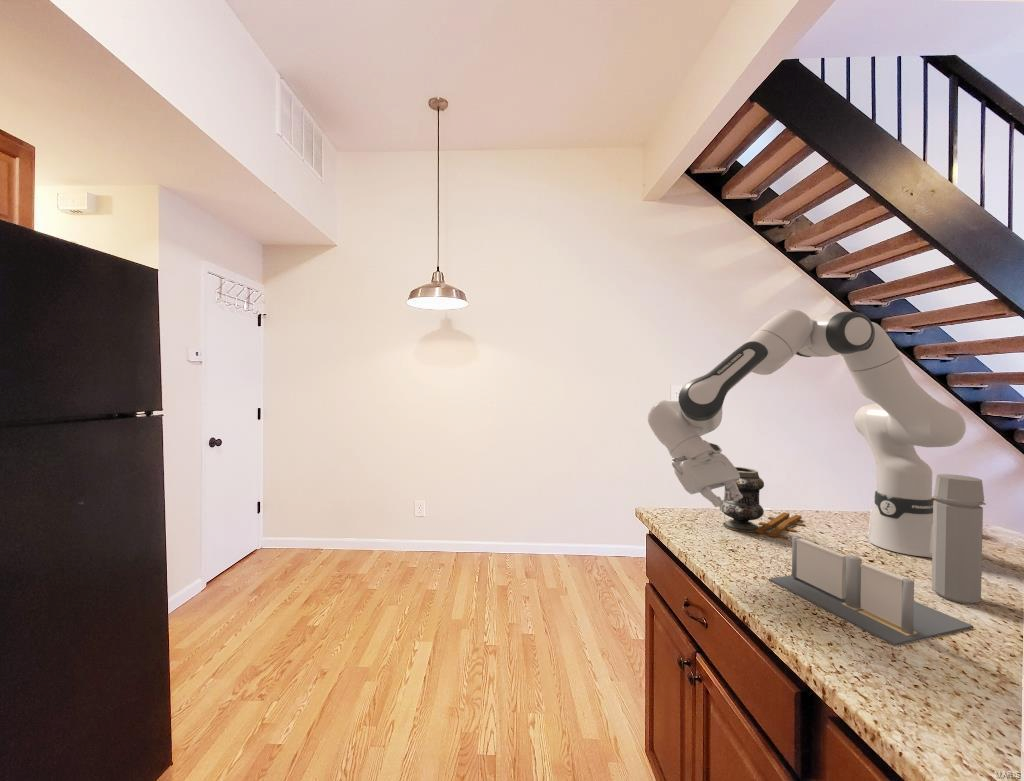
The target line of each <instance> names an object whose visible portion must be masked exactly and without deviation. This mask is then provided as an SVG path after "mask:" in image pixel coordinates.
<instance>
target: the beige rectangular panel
mask: <svg viewBox="0 0 1024 781" xmlns="http://www.w3.org/2000/svg"><path fill="white" fill-rule="evenodd" d="M791 540H792V541H791V545H792V546H791V549H792V550H791V575H792V577H794V578H799V579H801V580H803V581H805V582H807V583H809V584H811V585H813V586H816V587H818V588H820V589H822V590H824V591H826V592H828V593H830V594H832V595H834V596H836V597H839V598H841V599H845V598H846V556H848V554H847V555H846V554H844V553H841V552H838V551H837V550H833V549H831V548H828V547H825V546H822V545H819V544H817V543H814V542H812V541H810V540H807V539H804V538H801V537H799V536H792V538H791Z"/></svg>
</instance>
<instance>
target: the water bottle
mask: <svg viewBox="0 0 1024 781" xmlns="http://www.w3.org/2000/svg"><path fill="white" fill-rule="evenodd" d="M983 485H984V484H983V479H981V478H978V477H974V476H968V475H959V474H953V473H952V474H950V473H949V474H947V473H939V474H936V478H935V484H934V489H933V490H934V491H933V495H932V496H931V498H935V499H937V500H934V501H933V547H932V558H931V559H932V560H931V589H932V590H933V592H934V593H935V594H936V595H938V596H940V597H941V598H944V599H946V600H950V601H952V602H956V603H961V604H966V605H968V604H969V605H970V604H971V605H972V604H974V605H975V604H977V603H979V602H980V601H981V600H982V575H983V574H982V572H983V571H982V569H983V568H982V566H983V529H984V528H983V523H984V517H983V515H984V514H983V513H984V507H982V505H983V506H987V505H986V504H987V503H985V494H984V487H983Z"/></svg>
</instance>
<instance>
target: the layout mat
mask: <svg viewBox="0 0 1024 781" xmlns="http://www.w3.org/2000/svg"><path fill="white" fill-rule="evenodd" d="M768 581H769V582H770V583H773V584H774V585H777V586H778V587H781V588H783V589H784V588H785V589H784V590H786V589H787V591H788V592H790V593H792V594H794V595H796V596H798V597H800V598H802V599H803V600H806V601H807V602H809V603H811V604H813V605H815V606H817V607H819V608H820V609H823V610H825V611H827V612H829V614H832V615H834V616H836V617H838V618H840V619H842V620H843V621H845V622H847V623H849V624H852V625H853V626H855V627H857V628H858V629H861V630H862V631H865V632H867V633H869V634H870V635H873V636H874V637H876V638H878V639H880V640H882V641H884V642H886V643H888V644H889V645H892V646H893V647H895V646H899V645H905V644H908V643H909V644H910V643H912V642H917V641H921V640H926V639H930V638H934V637H938V636H944V635H948V634H952V633H956V632H961V631H965V630H970V629H973V628H974V625H972V624H970V623H968V622H966V621H964V620H961V619H958V618H956V617H954V616H952V615H948V614H946V613H944V612H941V611H940V610H937V609H934V608H932V607H929V606H927V605H925V604H923V603H920V602H918V601H915V600H914V625H913V634H907V633H904V632H903V631H901V627H899V626H897V625H895V624H893V623H891V622H889V621H886V620H884V619H882V618H880V617H878V616H876V615H874V614H872V613H870V612H868V611H866V610H864V609H861V608H860V609H855V608H851V607H849V606H847V605H846V604H845V603H846V598H845V599H841V598H839V597H836V596H834V595H832V594H830V593H828V592H826V591H824V590H822V589H820V588H818V587H816V586H813V585H811V584H809V583H807V582H805V581H803V580H801V579H799V578H794V577H792V574H790V575H783V576H778V577H770V578H768Z"/></svg>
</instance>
